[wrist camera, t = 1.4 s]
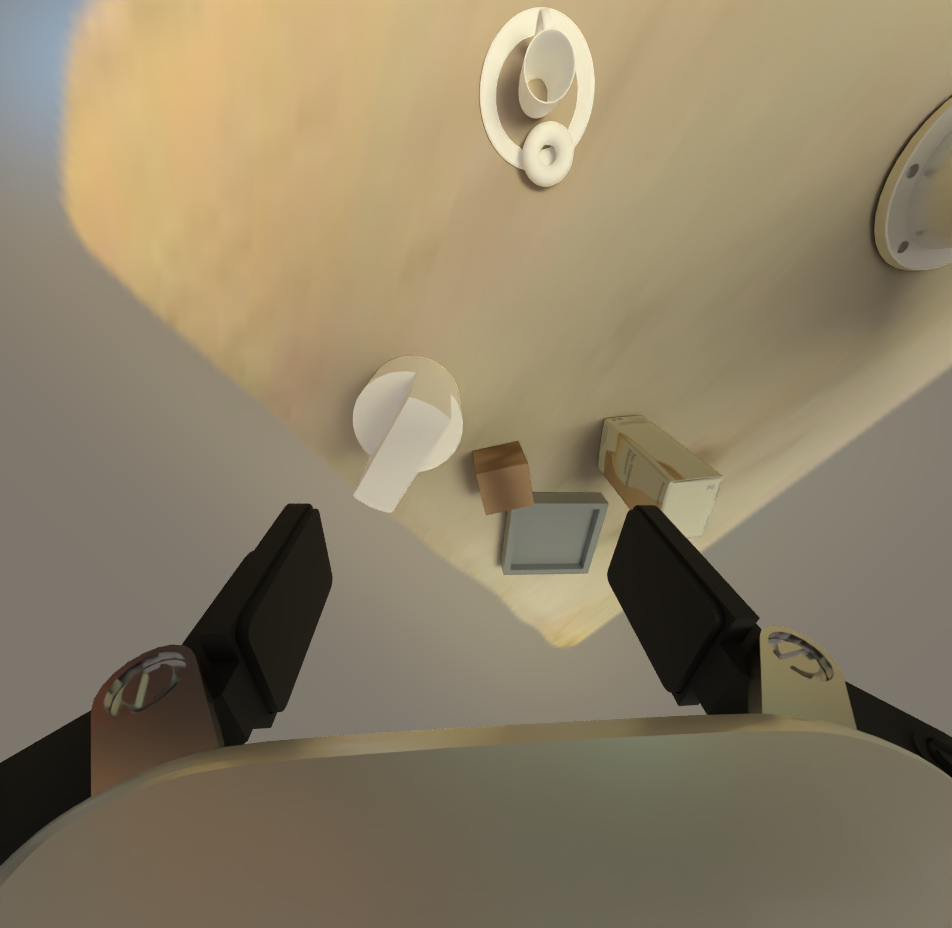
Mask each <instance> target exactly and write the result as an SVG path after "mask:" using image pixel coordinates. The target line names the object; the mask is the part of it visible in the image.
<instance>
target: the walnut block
mask: <svg viewBox="0 0 952 928" xmlns="http://www.w3.org/2000/svg"><path fill="white" fill-rule="evenodd" d="M473 458H474V465H475V472H476V477H477V481H478V485H479V489H480V493H481V497H482V501H483V505H484V509H485V513H486V515H490V514H494V513H499V512H504V511H508V510H513V509H518V508H522V507H527V506H532V505H534V501H533V494H532V487H531V481H530V474H529V468H528V462H527V460H526V458H525V455H524V453H523V451H522V448H521V446H520V444H519V441H515V442H511V443H506V444H502V445H497V446H492V447H488V448H483V449H479V450H474V451H473Z"/></svg>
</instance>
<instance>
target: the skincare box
mask: <svg viewBox="0 0 952 928" xmlns="http://www.w3.org/2000/svg"><path fill="white" fill-rule="evenodd" d="M598 468H599V470H600V471H601V472H602V473H603V475H604V476H605V477H606V479H607V480H608V481H609V482H610V484H611V485H612V486H613V488H614V489H615V490H616V492H617V493H618V494H619V496H620V497H621V498H622V499H623V501H624V502H625V503H626V505H627V506H628V507H629V509H630V510H632V509H633V507H635V506H636V505H655V506H657V507H658V508H659V509H660V510H661V511H662V512H663V513H664V514H665V515H666V516H667V517H668V518H669V519H670V521H671V522H672V523H673V524H674V525H675V526H676V527H677V528H678V529H679V530H680V531H681V533H682V534H683V535H684V536H685V537H686V538H687V539H688V538H699V537H701V536H702V535H703V533H704V530H705V527H706V524H707V522H708V519H709V516H710V514H711V512H712V510H713V507H714V504H715V500H716V497H717V494H718V492H719V489H720V486H721V484H722V481H723V478H724V477H723V476H722V475H721V474H719V473H718V472H717V471H715V470H714V469H713V468H711V467H710V466H709V465H708V464H706V463H705V462H704V461H702V460H701V459H700V458H698V457H697V456H696V455H694V454H693V453H692V452H690V451H689V450H688V449H686V448H685V447H684V446H682V445H681V444H680V443H678V442H677V441H676V440H674V439H673V438H672V437H671V436H669V435H668V434H667V433H665V432H664V431H663V430H661V429H660V428H659V427H657V426H656V425H655V424H653V423H652V422H651V421H649V420H648V419H647V418H645V417H644V416H627V417H616V418H608V419H605V420H604V425H603V431H602V437H601V444H600V451H599V461H598Z"/></svg>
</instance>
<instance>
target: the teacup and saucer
mask: <svg viewBox="0 0 952 928" xmlns="http://www.w3.org/2000/svg"><path fill="white" fill-rule="evenodd" d="M530 36H535V37H534V38H533V39H532V41H531V42H530V44H529V46H528V48H527V51H526V54H525V57H524V61H523V65H522V69H521V74H520V79H519V89H518V94H519V102H520V105H521V108H522V110H523V111H524V113H525V114H526V115H527V116H529V117H531V118H535V119H536V118H541V117H544V116H545V115H547V114H548V113H549V112H551V111H552V110H553V109H554V108H555V106H556V105H557V104H558V103H559V102H560V100H561V99H562V98H563V97H564V95H565V94H566V93H567V91H568V89H569V88H570V86H571V83H572V81H573V77H574V73H575V71H576V75H577V83H578V96H577V104H576V109H575V112H574V116H573V118H572V121H571V123H570V125H569V127H568V129H566V128H565V127H564V126H563V125H562V124H560V123H558V122H555V121H546V122H543V123H540V124H538V125H537V126H535V127H534V128H533V129H532V130H531V132H530V133H529V134H528V136H527V138H526V140H525V143H524V146H523V149H522V148H520V147H518V146H517V145H516V144H514V143H513V142H512V141H511V140H510V139H509V137H508V136H507V135H506V133H505V131H504V129H503V127H502V125H501V123H500V120H499V116H498V112H497V105H496V89H497V82H498V77H499V73H500V70H501V68H502V65H503V63H504V61H505V59H506V57H507V56H508V54H509V53H510V51H511V50H512V49H513V48H514V47H515V46H516V45H517V44H518V43H519V42H521V41H522V40H524V39H526V38H528V37H530ZM534 78H539V79H541V80H542V81H543V82H544V83H545V85H546V87H547V101H546V102H544V101H541V100H539V99H537V98H536V97H535V96H534V95H533V94H532V92H531V91H530V89H529V87H528V84H527V83H528V82H529V81H530V80H531V79H534ZM594 90H595V78H594V68H593V62H592V57H591V54H590V50H589V47H588V45H587V42H586V40H585V38H584V36H583V35H582V33H581V31H580V30H579V28H578V27H577V26H576V25H575V23H574V22H573V21H572V20H571V19H570V18H568V17H567V16H566V15H564V14H563V13H561V12H559V11H557V10H555V9H551V8H546V7H535V8H530V9H527V10H525V11H522V12H520V13H518V14H517V15H515V16H514V17H513V18H511V19H510V20H509V21H508V22H507V23H506V24H505V25H504V26H503V27H502V28H501V30H500V31H499V32H498V34H497V35H496V37H495V38H494V40H493V42H492V44H491V46H490V48H489V50H488V52H487V55H486V58H485V61H484V65H483V69H482V74H481V80H480V108H481V115H482V120H483V124H484V127H485V130H486V133H487V135H488V137H489V139H490V141H491V143H492V145H493V146H494V148H495V149H496V151H497V152H498V153H499V154H500V156H501V157H502V158H503V159H505V160H506V161H507V162H508V163H510V164H511V165H513V166H515V167H517V168H519V169H522V170H525V172H526V174H527V176H528V177H529V179H530V180H531V181H532V182H533V183H535V184H536V185H539V186H542V187H550V186H553V185H555V184H557V183H559V182H560V181H561V180H563V179H564V177H565V176H566V175H567V173H568V172H569V170H570V168H571V165H572V161H573V155H574V148H575V146H576V145H577V144H578V142H579V140H580V139H581V137H582V135H583V133H584V131H585V129H586V126H587V124H588V121H589V118H590V115H591V111H592V106H593V100H594ZM545 145H550V146H551V147H549V148H547V149H544V150H541V148H542V147H543V146H545ZM540 150H541V151H540Z"/></svg>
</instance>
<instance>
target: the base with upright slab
mask: <svg viewBox="0 0 952 928" xmlns="http://www.w3.org/2000/svg"><path fill="white" fill-rule="evenodd" d="M353 427H354V431H355V434H356V438H357V440H358V441H359V443H360V445H361V446H362V448H363V450H364V451H365V452H366V453H367V454H368V455H369V456H370V458H369V460H368V462H367V465H366V467H365V469H364V472H363V474H362V476H361V478H360V481H359V483H358V485H357V488H356V490H355V492H354V495H353V496H354V497H355V498H356V499H357V500H359V501H360V502H362V503H364V504H366V505H367V506H369V507H371V508H374V509H377V510H380V511H384V512H387V513H392V512H393V511H394V509H395V507H396V506H397V504H398V503H399V501H400V500H401V498H402V497H403V495H404V494H405V492H406V490H407V489H408V487H409V486H410V484H411V483H412V481H413V480H414V478H415V477H416V475H417V473H418V472H424V471H427V470H430V469H433V468H435V467H437V466H439V465H440V464H442V463H443V462H445V461H447V460H448V458H449V457H450V456H451V455H452V454H453V453H454V452H455V451H456V448H457V446H458V444H459V442H460V440H461V436H462V431H463V421H462V411H461V401H460V392H459V389H458V387H457V384H456V382H455V380H454V379H453V377H452V376H451V375H450V373H449V372H448V371H447V370H446V369H445V368H444V367H442V366H441V365H440V364H439V363H437V362H435V361H433V360H431V359H428V358H426V357H421V356H415V355H410V356H400V357H398V358H395V359H393V360H390V361H388V362H387V363H385V364H384V365H383V366H382V367H380V368H379V369H378V371H377V372H376V373H375V375H374V376H373V377H372V379H371V380H370V381H369V383H368V384H367V385H366V387H365V388H364V389H363V391H362V392H361V394H360V395H359V396H358V398H357V400H356V403H355V407H354V410H353Z"/></svg>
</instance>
